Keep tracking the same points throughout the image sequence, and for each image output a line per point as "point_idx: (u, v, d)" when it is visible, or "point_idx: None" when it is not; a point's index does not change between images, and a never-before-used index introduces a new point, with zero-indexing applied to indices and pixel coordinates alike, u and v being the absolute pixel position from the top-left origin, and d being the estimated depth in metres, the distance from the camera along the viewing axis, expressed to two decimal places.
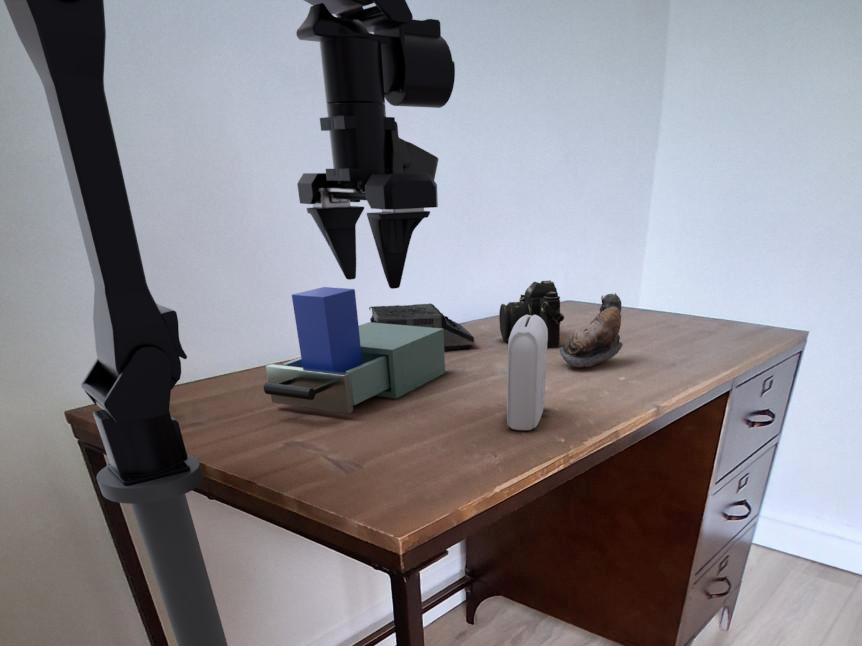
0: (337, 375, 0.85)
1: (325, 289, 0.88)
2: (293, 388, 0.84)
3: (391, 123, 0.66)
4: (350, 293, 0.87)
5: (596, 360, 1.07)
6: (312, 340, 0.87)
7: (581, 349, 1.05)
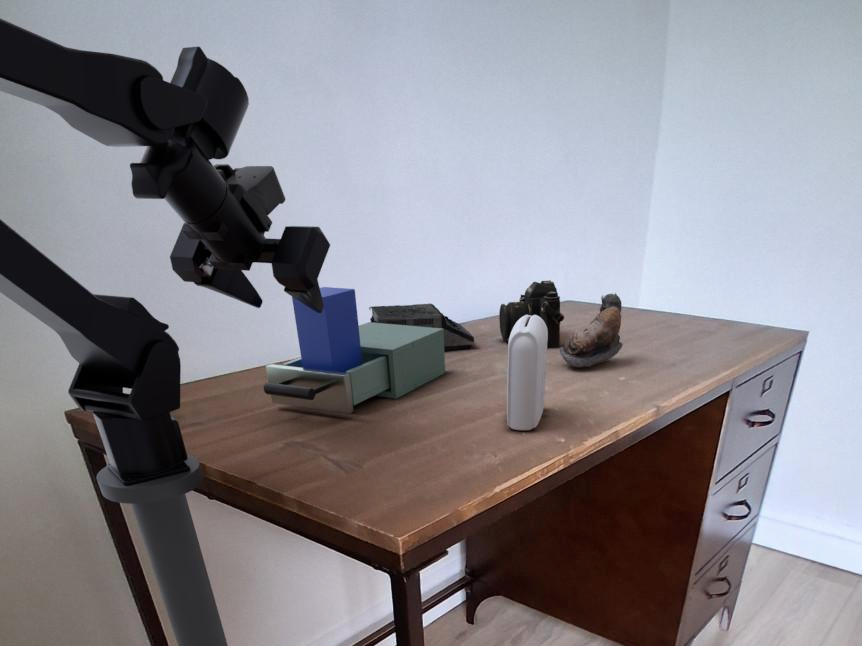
0: (337, 375, 0.85)
1: (325, 289, 0.88)
2: (293, 388, 0.84)
3: (239, 191, 0.67)
4: (350, 293, 0.87)
5: (596, 360, 1.07)
6: (312, 340, 0.87)
7: (581, 349, 1.05)
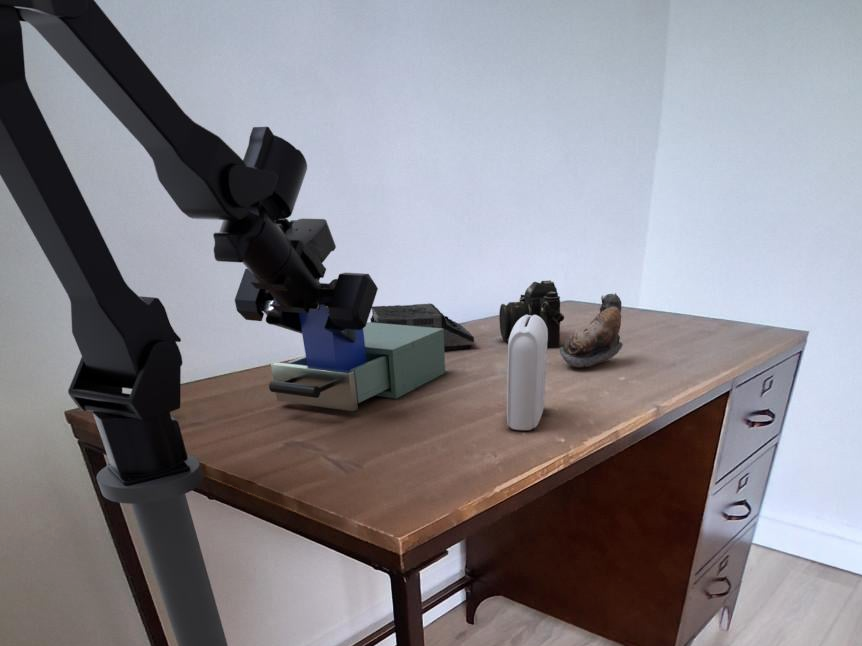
0: (342, 373, 0.85)
1: None
2: (298, 386, 0.84)
3: (300, 246, 0.77)
4: None
5: (596, 360, 1.07)
6: (316, 338, 0.87)
7: (581, 349, 1.05)
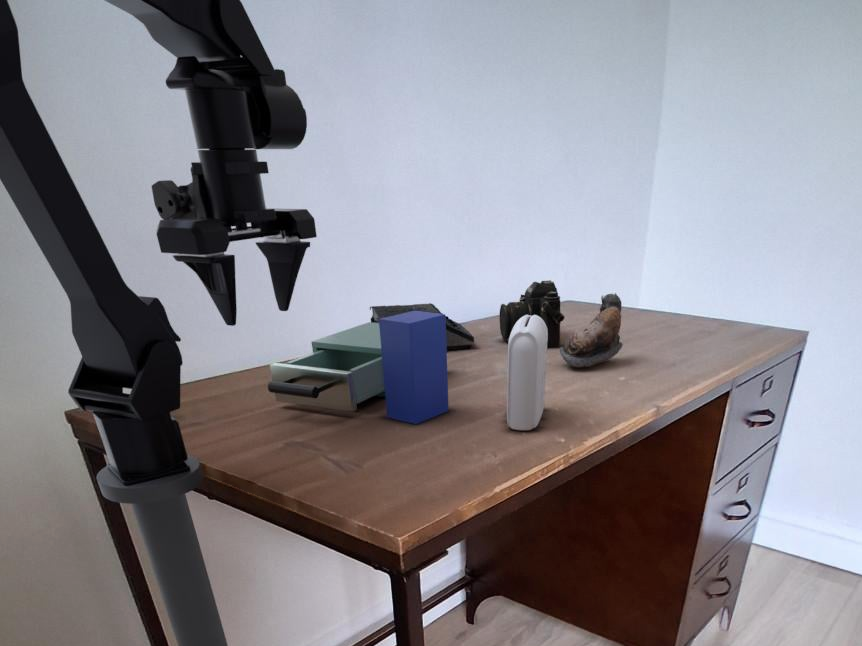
0: (341, 373, 0.85)
1: (415, 313, 0.84)
2: (297, 387, 0.84)
3: None
4: (440, 319, 0.83)
5: (596, 360, 1.07)
6: (395, 366, 0.83)
7: (581, 349, 1.05)
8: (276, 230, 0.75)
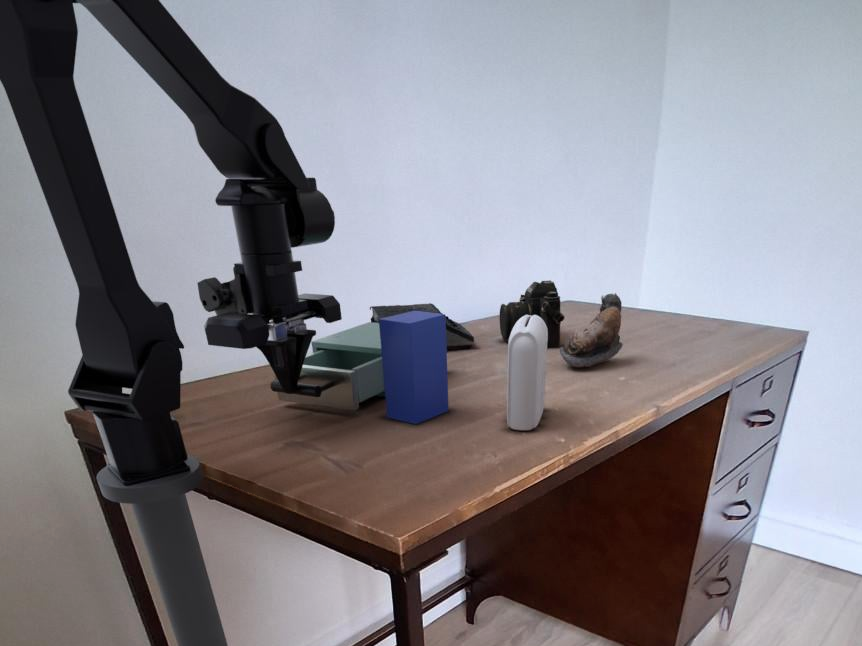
0: (343, 372, 0.86)
1: (415, 313, 0.84)
2: (300, 385, 0.85)
3: None
4: (440, 319, 0.83)
5: (596, 360, 1.07)
6: (395, 366, 0.83)
7: (581, 349, 1.05)
8: (306, 315, 0.84)
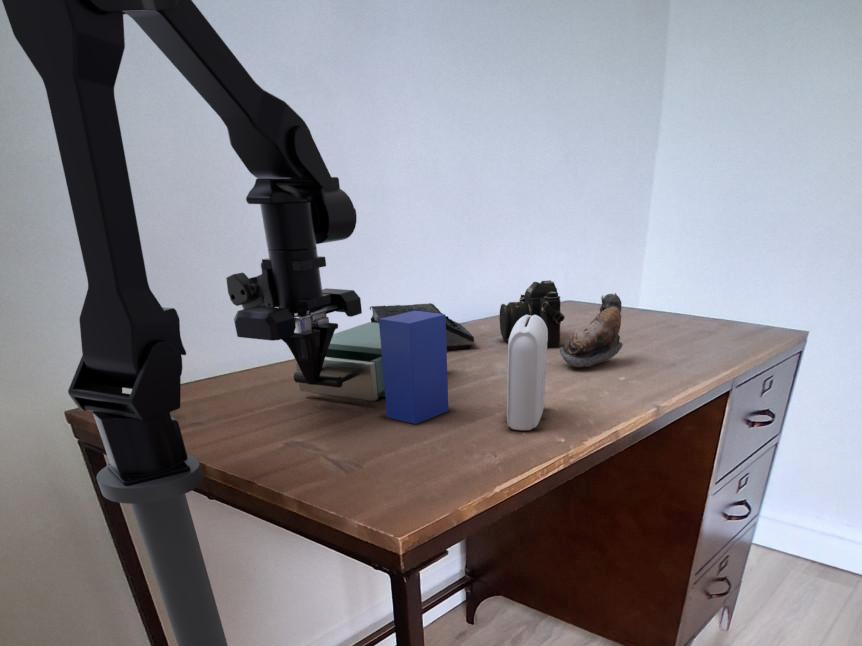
0: (363, 364, 0.89)
1: (415, 313, 0.84)
2: (322, 376, 0.88)
3: None
4: (440, 319, 0.83)
5: (596, 360, 1.07)
6: (395, 366, 0.83)
7: (581, 349, 1.05)
8: (328, 309, 0.87)
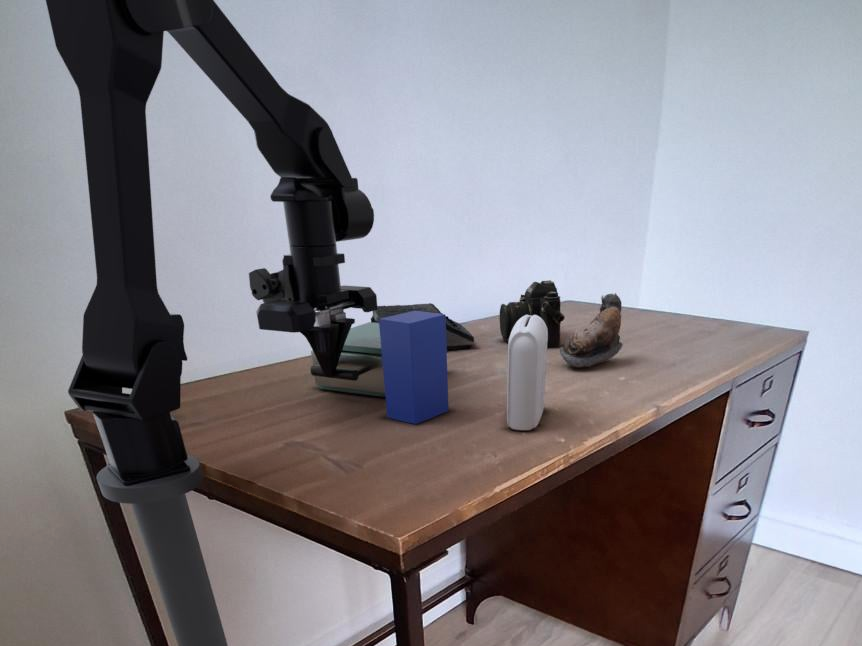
0: (378, 358, 0.92)
1: (415, 313, 0.84)
2: (338, 370, 0.91)
3: None
4: (440, 319, 0.83)
5: (596, 360, 1.07)
6: (395, 366, 0.83)
7: (581, 349, 1.05)
8: None
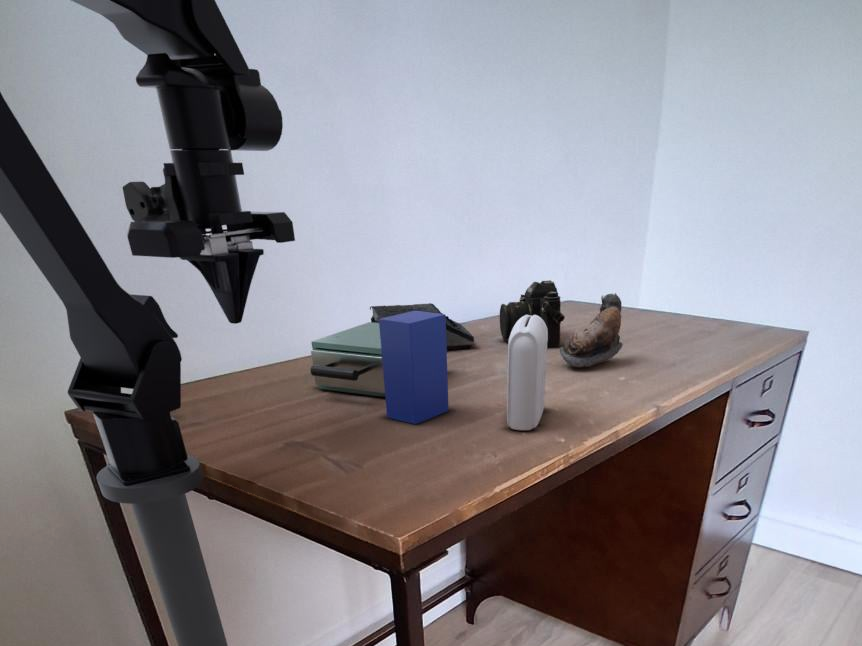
0: (378, 358, 0.92)
1: (415, 313, 0.84)
2: (338, 370, 0.91)
3: None
4: (440, 319, 0.83)
5: (596, 360, 1.07)
6: (395, 366, 0.83)
7: (581, 349, 1.05)
8: (253, 233, 0.73)
